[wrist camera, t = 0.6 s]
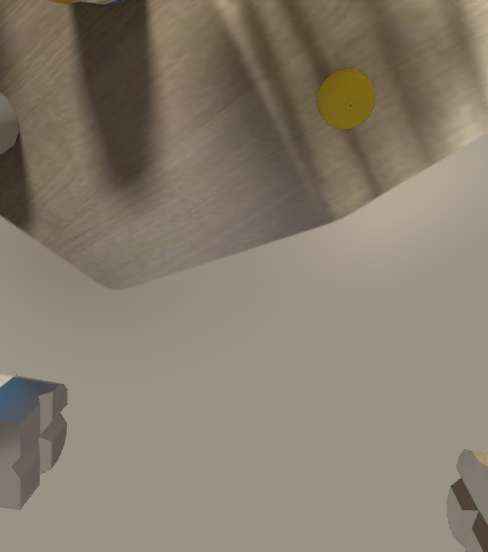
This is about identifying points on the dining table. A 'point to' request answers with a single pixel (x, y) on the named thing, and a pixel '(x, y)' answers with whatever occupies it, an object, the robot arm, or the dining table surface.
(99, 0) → the beverage bottle
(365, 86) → the lemon
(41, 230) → the dining table surface
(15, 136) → the cup
